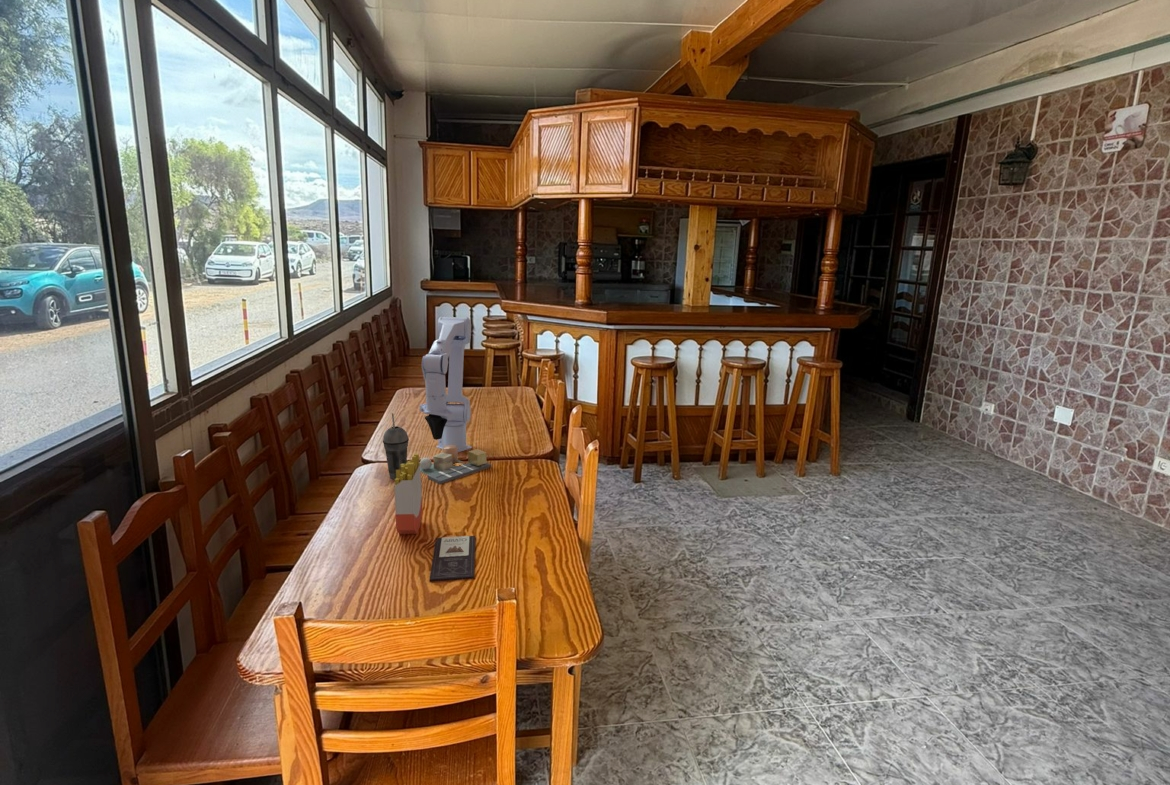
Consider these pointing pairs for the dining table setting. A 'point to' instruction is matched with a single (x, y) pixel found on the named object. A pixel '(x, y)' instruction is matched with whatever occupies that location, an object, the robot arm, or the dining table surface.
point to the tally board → (457, 472)
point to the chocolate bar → (453, 558)
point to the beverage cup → (395, 448)
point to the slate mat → (432, 470)
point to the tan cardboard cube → (477, 457)
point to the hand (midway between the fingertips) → (437, 438)
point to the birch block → (442, 461)
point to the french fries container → (408, 497)
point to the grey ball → (425, 463)
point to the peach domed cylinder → (451, 452)
